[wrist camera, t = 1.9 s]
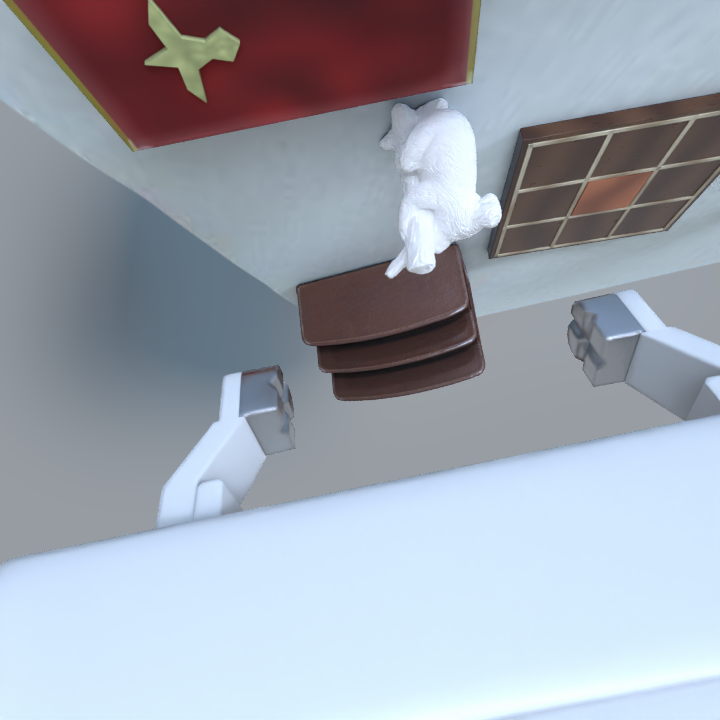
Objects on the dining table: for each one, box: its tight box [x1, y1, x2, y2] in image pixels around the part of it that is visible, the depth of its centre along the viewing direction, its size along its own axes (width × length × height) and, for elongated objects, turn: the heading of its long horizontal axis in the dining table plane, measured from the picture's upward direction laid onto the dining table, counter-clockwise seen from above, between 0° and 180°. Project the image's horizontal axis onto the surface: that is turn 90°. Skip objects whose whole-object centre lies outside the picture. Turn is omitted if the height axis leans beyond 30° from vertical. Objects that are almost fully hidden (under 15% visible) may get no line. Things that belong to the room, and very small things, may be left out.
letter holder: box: [296, 244, 485, 401], centre depth 61 cm, size 10×20×14 cm, turn 109°
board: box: [487, 93, 720, 259], centre depth 48 cm, size 20×20×1 cm
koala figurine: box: [379, 98, 502, 279], centre depth 35 cm, size 8×7×12 cm
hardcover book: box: [3, 0, 481, 152], centre depth 25 cm, size 12×21×4 cm, turn 98°
